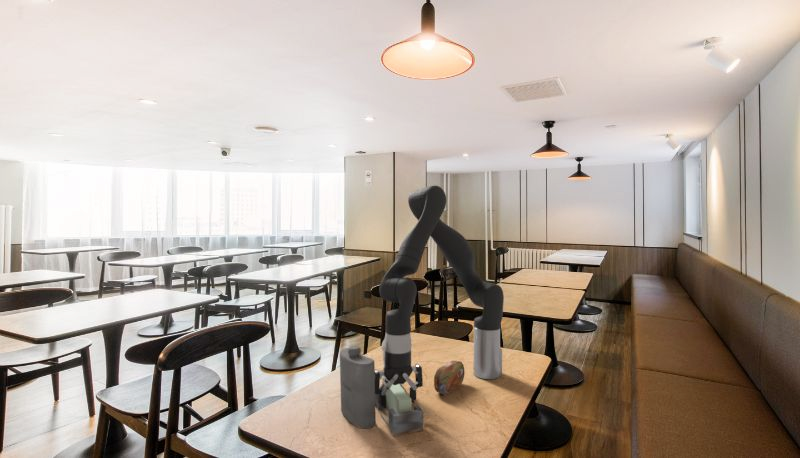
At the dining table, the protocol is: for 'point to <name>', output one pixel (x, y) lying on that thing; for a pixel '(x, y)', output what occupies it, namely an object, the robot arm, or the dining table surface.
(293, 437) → the dining table surface
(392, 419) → the cradle
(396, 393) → the slat
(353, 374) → the flask
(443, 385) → the tin
